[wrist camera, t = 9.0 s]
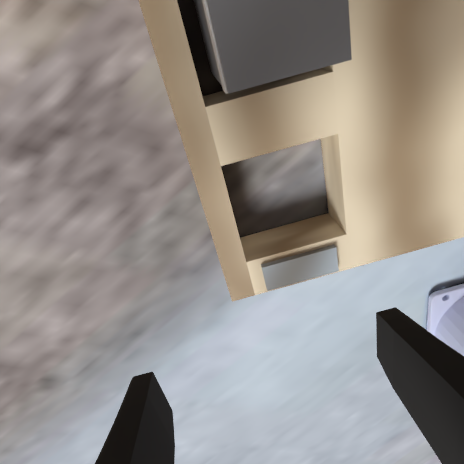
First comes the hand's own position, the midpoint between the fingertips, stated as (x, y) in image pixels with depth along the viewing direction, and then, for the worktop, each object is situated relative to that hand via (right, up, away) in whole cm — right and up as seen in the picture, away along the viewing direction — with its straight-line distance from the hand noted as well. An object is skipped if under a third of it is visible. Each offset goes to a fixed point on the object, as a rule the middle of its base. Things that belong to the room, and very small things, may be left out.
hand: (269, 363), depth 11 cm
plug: (-1, +14, +4) cm, 14 cm away
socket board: (+3, +11, +6) cm, 13 cm away
